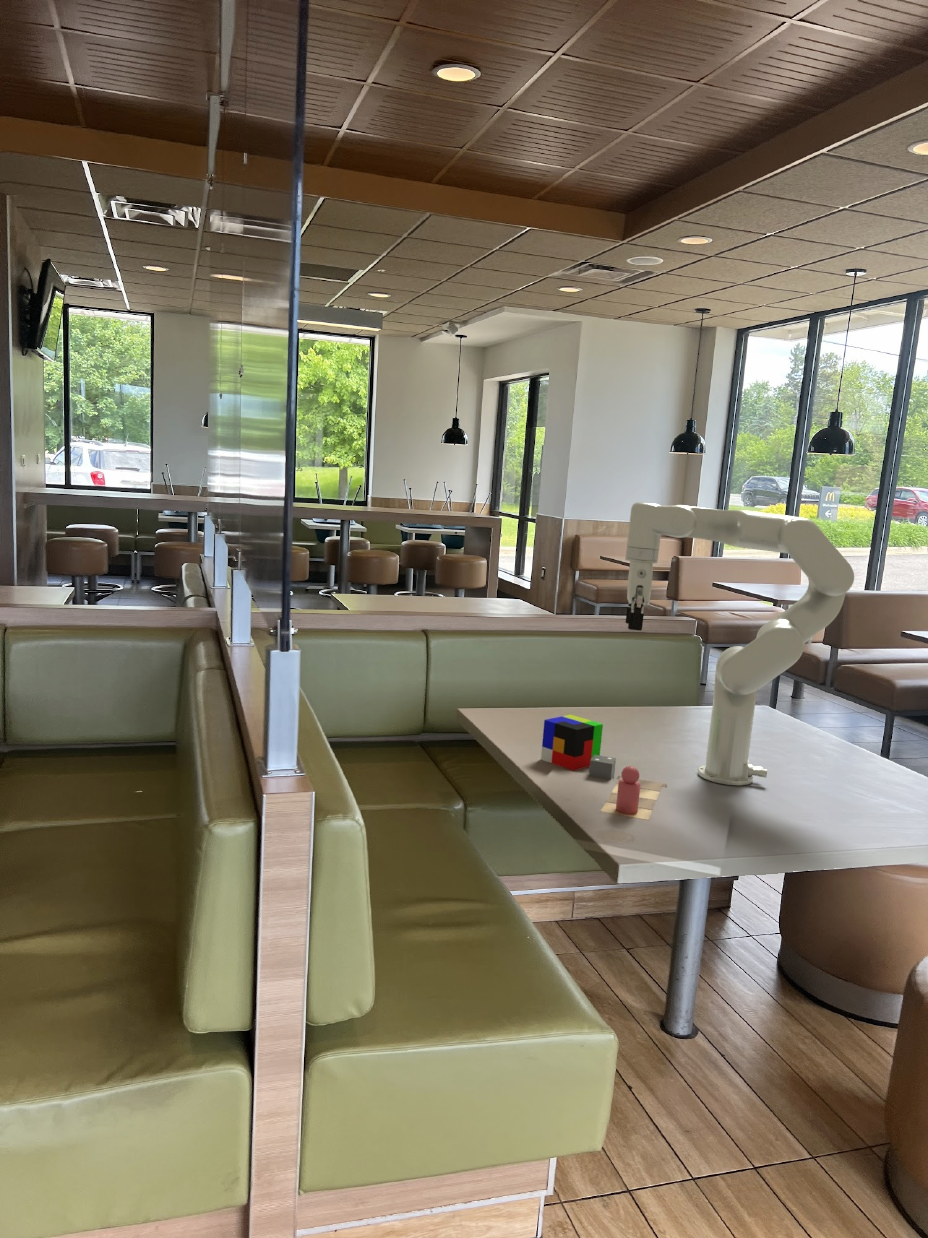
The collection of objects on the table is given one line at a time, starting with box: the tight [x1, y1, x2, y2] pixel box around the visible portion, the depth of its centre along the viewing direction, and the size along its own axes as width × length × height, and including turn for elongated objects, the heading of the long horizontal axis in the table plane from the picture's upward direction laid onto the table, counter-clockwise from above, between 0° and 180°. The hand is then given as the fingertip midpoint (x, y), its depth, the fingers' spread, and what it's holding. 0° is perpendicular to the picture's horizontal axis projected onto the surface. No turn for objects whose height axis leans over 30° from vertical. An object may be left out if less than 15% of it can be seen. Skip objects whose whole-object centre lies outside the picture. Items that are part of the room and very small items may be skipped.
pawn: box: [615, 765, 641, 815], centre depth 186 cm, size 4×4×9 cm
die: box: [588, 754, 617, 781], centre depth 209 cm, size 5×5×5 cm
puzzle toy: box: [540, 714, 604, 772], centre depth 221 cm, size 10×10×10 cm
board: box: [600, 775, 668, 821], centre depth 196 cm, size 11×27×1 cm, turn 161°
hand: (633, 626), depth 218 cm, fingers open, 9 cm apart
